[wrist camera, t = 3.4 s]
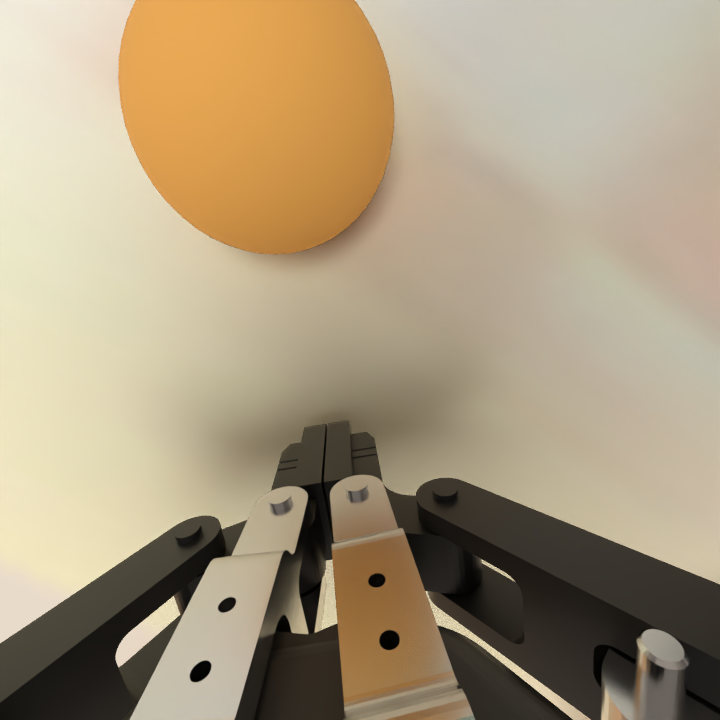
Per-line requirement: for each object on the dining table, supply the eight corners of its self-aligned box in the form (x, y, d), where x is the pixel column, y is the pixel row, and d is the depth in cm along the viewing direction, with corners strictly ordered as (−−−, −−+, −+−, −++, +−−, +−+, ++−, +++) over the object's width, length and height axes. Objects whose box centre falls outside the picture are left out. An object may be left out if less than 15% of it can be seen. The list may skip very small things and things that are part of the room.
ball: (365, 26, 11) (393, -209, 6) (391, 239, 13) (433, 227, 7) (161, 56, 11) (-26, -151, 6) (212, 266, 13) (109, 277, 7)
